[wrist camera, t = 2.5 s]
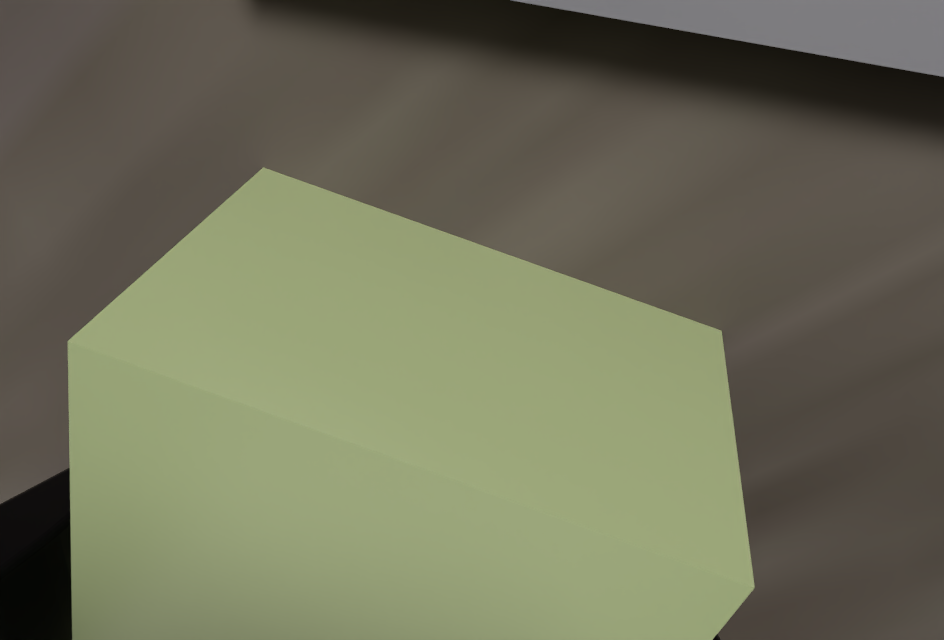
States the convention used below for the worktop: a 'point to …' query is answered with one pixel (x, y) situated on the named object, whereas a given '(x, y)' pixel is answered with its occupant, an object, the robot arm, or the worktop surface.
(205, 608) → the olive brick
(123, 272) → the worktop surface
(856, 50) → the baseplate
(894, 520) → the worktop surface
